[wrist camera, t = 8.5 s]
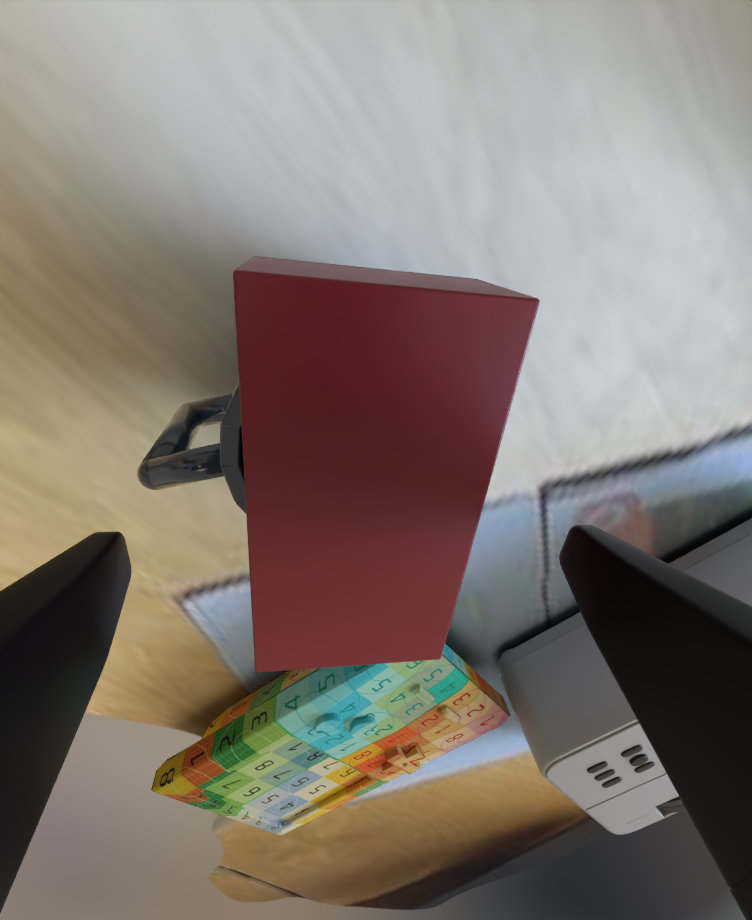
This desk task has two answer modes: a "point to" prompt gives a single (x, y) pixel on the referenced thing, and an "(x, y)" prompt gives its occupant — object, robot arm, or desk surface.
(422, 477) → the red rectangular block
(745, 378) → the desk surface
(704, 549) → the projector
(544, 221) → the desk surface
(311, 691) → the puzzle game
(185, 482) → the mug
